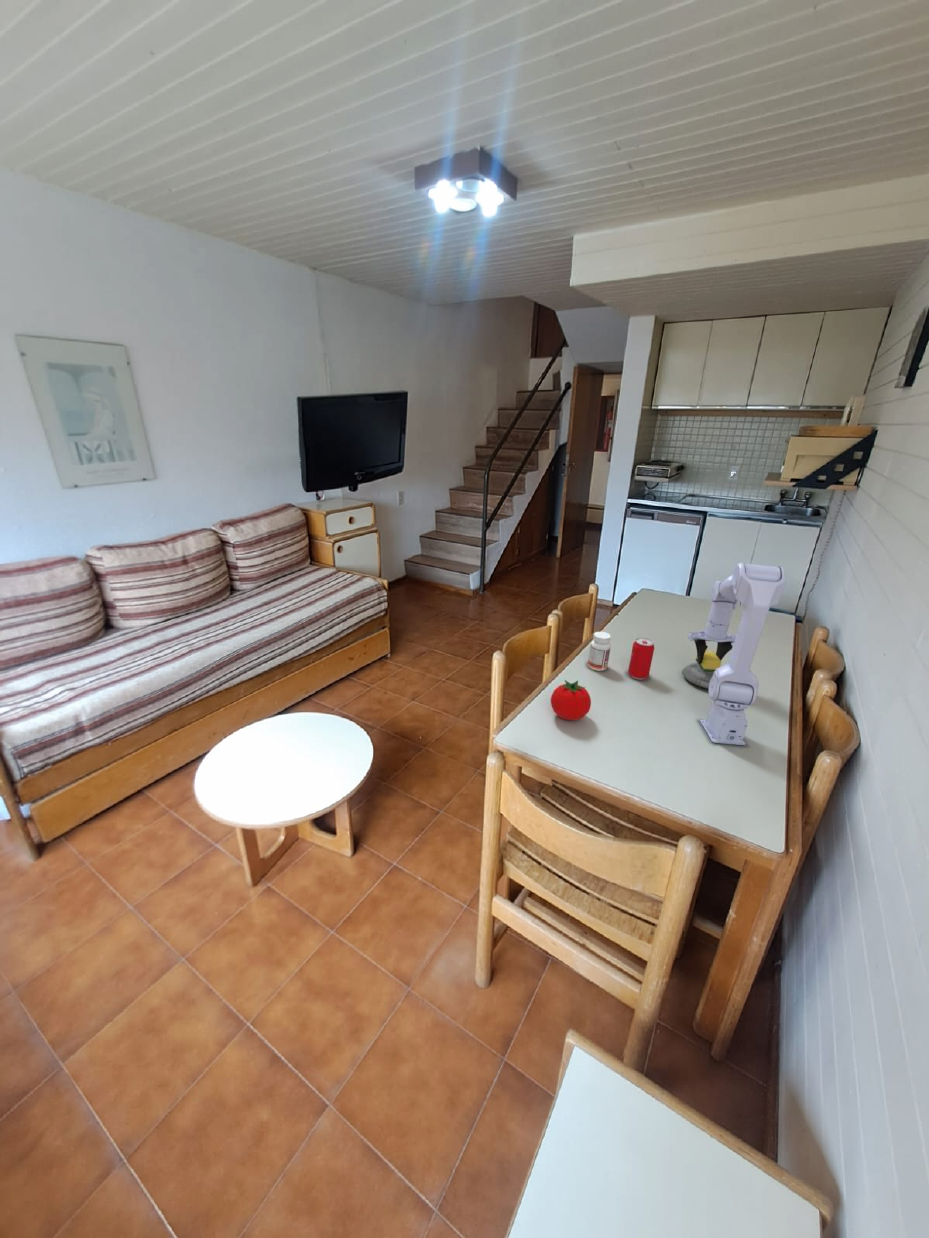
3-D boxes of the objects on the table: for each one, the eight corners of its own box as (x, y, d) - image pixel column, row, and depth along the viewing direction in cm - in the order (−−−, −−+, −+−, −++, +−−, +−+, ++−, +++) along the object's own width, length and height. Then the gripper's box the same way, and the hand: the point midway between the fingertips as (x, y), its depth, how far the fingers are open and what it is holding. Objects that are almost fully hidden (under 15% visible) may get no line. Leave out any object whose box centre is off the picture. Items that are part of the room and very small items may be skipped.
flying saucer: (671, 678, 153) (675, 662, 151) (695, 664, 162) (699, 649, 160) (720, 699, 142) (724, 683, 140) (742, 683, 151) (747, 668, 149)
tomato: (594, 726, 128) (600, 693, 124) (555, 729, 126) (560, 695, 122) (580, 704, 137) (584, 673, 133) (544, 706, 136) (547, 675, 132)
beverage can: (645, 671, 156) (652, 637, 151) (650, 681, 150) (657, 646, 146) (625, 670, 157) (632, 636, 152) (629, 679, 151) (636, 644, 146)
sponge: (718, 672, 146) (721, 661, 145) (703, 670, 147) (705, 660, 145) (710, 661, 153) (713, 651, 151) (695, 660, 153) (698, 649, 152)
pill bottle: (601, 661, 162) (606, 630, 157) (610, 670, 156) (616, 638, 152) (584, 662, 160) (588, 631, 156) (592, 672, 155) (597, 639, 150)
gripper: (738, 618, 147) (727, 658, 152) (688, 614, 148) (679, 654, 153) (748, 627, 140) (736, 669, 146) (696, 624, 142) (686, 665, 147)
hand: (707, 662), depth 149 cm, fingers closed on sponge, 4 cm apart
